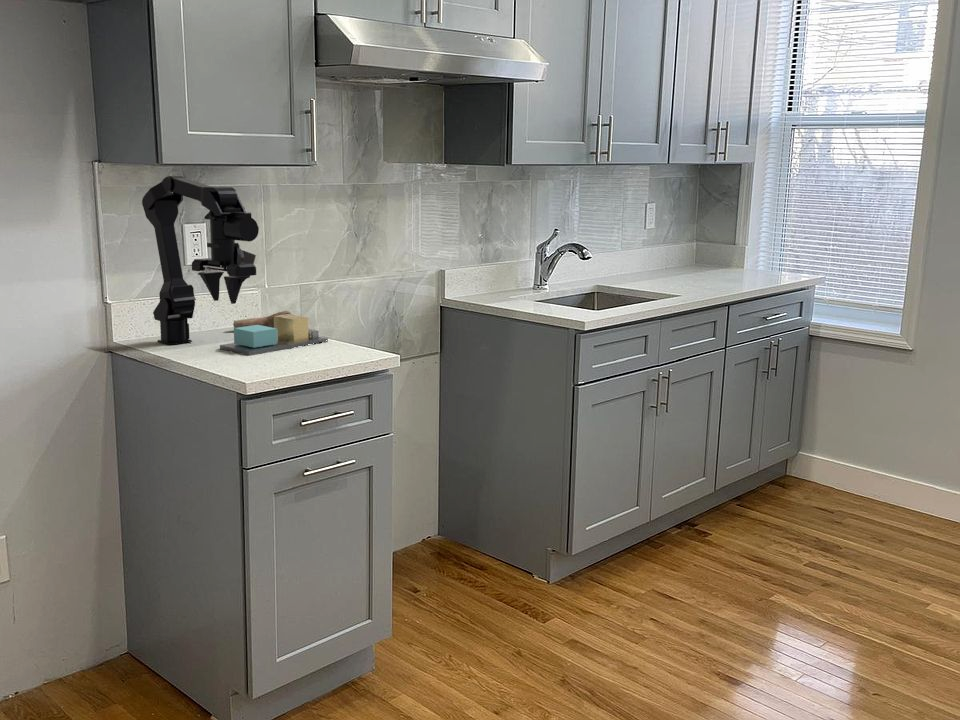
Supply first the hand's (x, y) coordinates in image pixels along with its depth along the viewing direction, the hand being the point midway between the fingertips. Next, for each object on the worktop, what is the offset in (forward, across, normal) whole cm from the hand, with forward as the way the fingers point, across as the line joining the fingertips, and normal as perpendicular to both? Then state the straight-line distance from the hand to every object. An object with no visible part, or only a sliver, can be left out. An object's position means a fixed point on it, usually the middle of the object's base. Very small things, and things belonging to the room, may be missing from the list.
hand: (224, 302), depth 234 cm
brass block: (+12, 0, -21) cm, 24 cm away
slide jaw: (+12, 0, -9) cm, 15 cm away
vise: (+13, 0, -15) cm, 20 cm away
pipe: (+14, +19, -27) cm, 35 cm away
